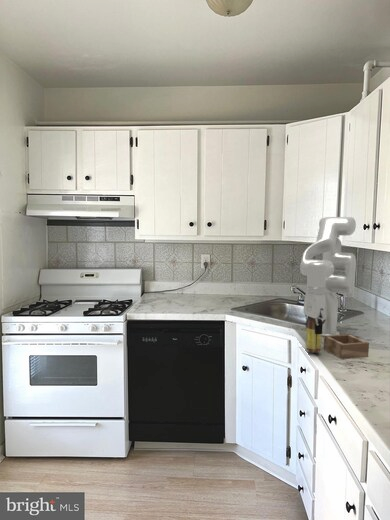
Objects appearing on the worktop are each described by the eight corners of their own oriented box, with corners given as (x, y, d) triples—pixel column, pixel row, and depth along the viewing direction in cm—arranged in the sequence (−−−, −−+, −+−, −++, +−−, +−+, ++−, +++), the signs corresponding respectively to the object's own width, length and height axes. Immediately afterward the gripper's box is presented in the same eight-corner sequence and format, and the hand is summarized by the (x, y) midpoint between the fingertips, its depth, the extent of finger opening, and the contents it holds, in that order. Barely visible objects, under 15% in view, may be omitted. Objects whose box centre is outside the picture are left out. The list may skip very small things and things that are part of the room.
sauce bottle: (317, 348, 164) (319, 304, 162) (322, 353, 158) (325, 307, 156) (303, 348, 164) (305, 304, 162) (307, 353, 158) (310, 307, 156)
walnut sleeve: (323, 348, 167) (324, 335, 167) (348, 346, 171) (349, 334, 170) (341, 359, 155) (342, 345, 154) (368, 356, 158) (369, 343, 158)
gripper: (297, 287, 166) (295, 326, 167) (319, 294, 149) (317, 338, 151) (312, 286, 167) (310, 325, 169) (335, 294, 151) (333, 337, 153)
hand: (313, 331), depth 160 cm, fingers closed on sauce bottle, 6 cm apart
